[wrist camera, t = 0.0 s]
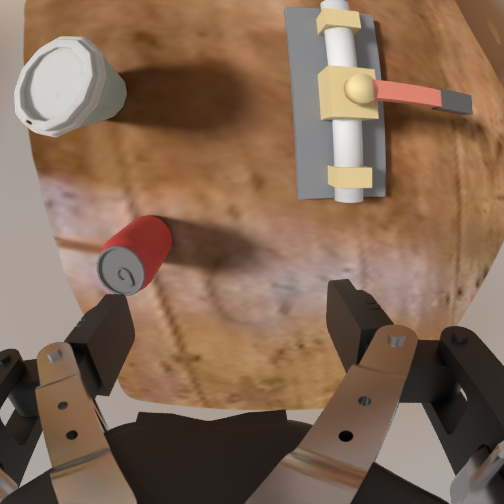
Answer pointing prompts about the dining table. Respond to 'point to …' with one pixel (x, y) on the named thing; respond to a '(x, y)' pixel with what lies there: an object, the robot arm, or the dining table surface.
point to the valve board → (309, 105)
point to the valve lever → (405, 94)
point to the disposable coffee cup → (67, 87)
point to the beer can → (134, 255)
